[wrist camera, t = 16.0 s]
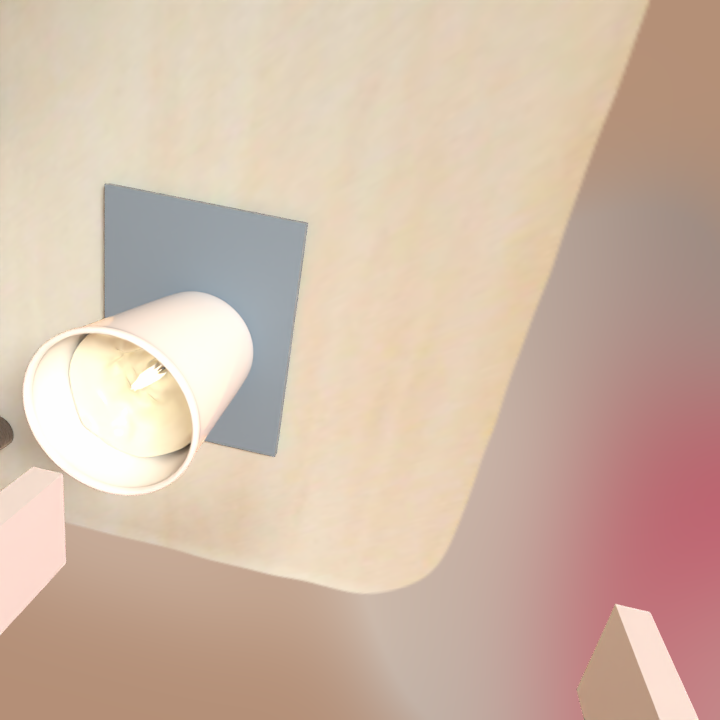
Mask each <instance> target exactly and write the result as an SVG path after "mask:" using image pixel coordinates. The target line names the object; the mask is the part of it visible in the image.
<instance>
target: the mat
mask: <svg viewBox="0 0 720 720" xmlns="http://www.w3.org/2000/svg"><path fill="white" fill-rule="evenodd" d="M307 227H308V223H306V222H301V221H296V220H291V219H286V218H281V217H275V216H270V215H265V214H260V213H255V212H250V211H245V210H240V209H235V208H230V207H225V206H220V205H215V204H210V203H205V202H200V201H195V200H190V199H185V198H180V197H175V196H170V195H165V194H160V193H155V192H150V191H145V190H140V189H135V188H130V187H125V186H120V185H115V184H105V318H107V317H110V316H113V315H115V314H118V313H121V312H123V311H126V310H129V309H132V308H134V307H137V306H140V305H143V304H145V303H148V302H151V301H154V300H156V299H159V298H162V297H165V296H168V295H171V294H174V293H178V292H184V291H198V292H203V293H207V294H211V295H213V296H216V297H218V298H220V299H221V300H223V301H225V302H226V303H227V304H229V305H230V306H231V307H232V308H233V309H235V310H236V312H237V313H238V314H239V315H240V316H241V318H242V319H243V320H244V322H245V324H246V325H247V327H248V330H249V332H250V335H251V338H252V342H253V363H252V367H251V370H250V372H249V375H248V377H247V378H246V380H245V382H244V383H243V385H242V387H241V388H240V390H239V391H238V393H237V394H236V395H235V397H234V398H233V400H232V401H231V403H230V404H229V406H228V407H227V409H226V410H225V411H224V413H223V414H222V416H221V417H220V419H219V420H218V422H217V423H216V424H215V426H214V427H213V429H212V430H211V432H210V433H209V435H208V436H207V437H206V439H205V440H204V441H208V442H212V443H217V444H221V445H225V446H230V447H234V448H238V449H243V450H247V451H251V452H256V453H260V454H264V455H269V456H273V457H275V455H276V453H277V448H278V440H279V433H280V425H281V418H282V411H283V403H284V396H285V389H286V381H287V374H288V367H289V359H290V352H291V344H292V337H293V330H294V322H295V315H296V308H297V300H298V293H299V286H300V278H301V271H302V263H303V256H304V249H305V241H306V234H307Z"/></svg>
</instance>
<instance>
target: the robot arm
mask: <svg viewBox="0 0 720 720" xmlns="http://www.w3.org/2000/svg"><path fill="white" fill-rule="evenodd" d="M65 564H66V545H65V517H64V491H63V473H58V472H54V471H50V470H46V469H41V468H37V467H32V468H30V469H29V470H28V471H26V472H25V473H24V474H23V475H21V476H20V477H19V478H17V479H16V480H15V481H13V482H12V483H11V484H9V485H8V486H7V487H6V488H4V489H3V490H2V491H0V635H1V634H2V632H3V631H4V630H5V629H6V628H7V627H8V626H9V625H10V624H11V622H12V621H13V620H14V619H15V618H16V617H17V616H18V615H19V614H20V613H21V612H22V611H23V610H24V608H25V607H26V606H27V605H28V604H29V603H30V602H31V601H32V600H33V599H34V597H36V595H37V594H38V593H39V592H40V591H41V590H42V589H43V588H44V587H45V586H46V585H47V583H48V582H49V581H50V580H51V579H52V578H53V577H54V576H55V574H57V573H58V572H59V570H60V569H61V568H62V567H63V566H64V565H65ZM577 694H578V697H579V702H580V706H581V710H582V714H583V718H584V720H699V719H698V717H697V715H696V713H695V710H694V708H693V706H692V704H691V702H690V700H689V697H688V695H687V693H686V690H685V688H684V686H683V684H682V682H681V679H680V677H679V675H678V673H677V671H676V668H675V666H674V664H673V662H672V660H671V657H670V655H669V653H668V651H667V649H666V646H665V644H664V642H663V640H662V637H661V636H660V633H659V631H658V629H657V627H656V624H655V622H654V620H653V618H652V615H651V614H650V612H647V611H643V610H638V609H634V608H630V607H626V606H622V605H618V604H615V606H614V608H613V610H612V612H611V615H610V617H609V619H608V621H607V623H606V626H605V628H604V630H603V632H602V635H601V637H600V639H599V641H598V643H597V646H596V648H595V650H594V652H593V654H592V657H591V659H590V661H589V663H588V665H587V668H586V670H585V672H584V674H583V676H582V679H581V681H580V683H579V685H578V687H577Z"/></svg>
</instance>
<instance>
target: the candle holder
mask: <svg viewBox="0 0 720 720" xmlns="http://www.w3.org/2000/svg"><path fill="white" fill-rule="evenodd" d="M252 363H253V342H252V338H251V335H250V332H249V330H248V327H247V325H246V324H245V322H244V320H243V319H242V318H241V316H240V315H239V314H238V313H237V312H236V310H235V309H233V308H232V307H231V306H230V305H229V304H227V303H226V302H225V301H223V300H221V299H220V298H218V297H216V296H213V295H211V294H207V293H203V292H198V291H184V292H178V293H174V294H171V295H168V296H165V297H162V298H159V299H156V300H154V301H151V302H148V303H145V304H143V305H140V306H137V307H134V308H132V309H129V310H126V311H123V312H121V313H118V314H115V315H113V316H110V317H107V318H104V319H102V320H99V321H96V322H94V323H91V324H88V325H85V326H83V327H79V328H74V329H70V330H67V331H65V332H62V333H60V334H58V335H56V336H54V337H53V338H51V339H50V340H48V341H47V342H46V343H44V344H43V345H42V346H41V347H40V348H39V349H38V350H37V352H36V353H35V354H34V356H33V357H32V359H31V361H30V363H29V365H28V367H27V370H26V373H25V376H24V381H23V405H24V411H25V415H26V418H27V421H28V424H29V427H30V429H31V431H32V433H33V435H34V437H35V439H36V440H37V442H38V444H39V445H40V446H41V448H42V449H43V451H44V452H45V453H46V454H47V456H48V457H49V458H50V459H51V460H52V461H53V462H54V463H55V464H56V465H57V466H58V467H59V468H60V469H62V470H63V471H64V472H65V473H67V474H68V475H70V476H71V477H72V478H74V479H76V480H77V481H79V482H81V483H83V484H85V485H87V486H89V487H91V488H94V489H96V490H99V491H102V492H106V493H110V494H116V495H127V496H133V495H143V494H148V493H152V492H155V491H158V490H160V489H162V488H164V487H166V486H168V485H169V484H171V483H172V482H174V481H175V480H176V479H177V478H179V477H180V476H181V475H182V474H183V472H184V471H185V470H186V469H187V467H188V466H189V464H190V463H191V461H192V459H193V457H194V455H195V453H196V452H197V450H198V449H199V448H200V446H201V445H202V443H203V442H204V440H205V439H206V437H207V436H208V435H209V433H210V432H211V430H212V429H213V427H214V426H215V424H216V423H217V422H218V420H219V419H220V417H221V416H222V414H223V413H224V411H225V410H226V409H227V407H228V406H229V404H230V403H231V401H232V400H233V398H234V397H235V395H236V394H237V393H238V391H239V390H240V388H241V387H242V385H243V383H244V382H245V380H246V378H247V377H248V375H249V372H250V370H251V367H252Z"/></svg>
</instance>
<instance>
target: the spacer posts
mask: <svg viewBox="0 0 720 720" xmlns="http://www.w3.org/2000/svg"><path fill="white" fill-rule="evenodd" d="M12 440H13V431H12V428H11V426H10V425H9V423H8V422H7V421H6V420H5V419H3V418H2V417H0V450H1V449H2V448H4V447H5V446H7V445H8V444H10V443H11V442H12Z"/></svg>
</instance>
